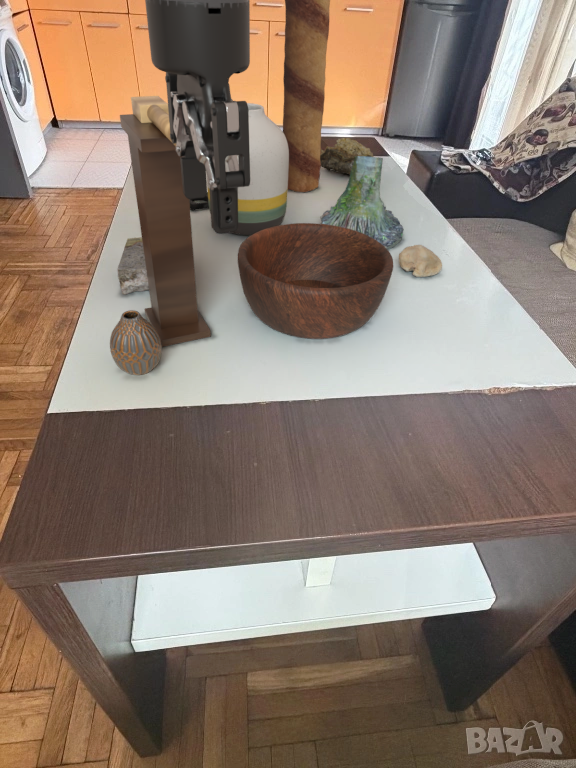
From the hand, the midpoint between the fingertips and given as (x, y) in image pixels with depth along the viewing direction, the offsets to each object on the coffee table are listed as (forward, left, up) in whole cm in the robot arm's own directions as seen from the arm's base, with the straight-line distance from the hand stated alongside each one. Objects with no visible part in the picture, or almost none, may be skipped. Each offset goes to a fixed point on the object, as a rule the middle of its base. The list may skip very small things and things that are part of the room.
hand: (209, 213), depth 48 cm
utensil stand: (-7, +24, -28) cm, 38 cm away
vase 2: (+5, +65, -28) cm, 71 cm away
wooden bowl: (+15, +30, -28) cm, 44 cm away
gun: (-11, +78, -28) cm, 84 cm away
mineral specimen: (+34, +103, -28) cm, 112 cm away
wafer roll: (+19, +92, -28) cm, 98 cm away
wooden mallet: (-6, +21, +2) cm, 22 cm away
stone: (+38, +44, -28) cm, 65 cm away
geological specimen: (-12, +41, -28) cm, 51 cm away
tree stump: (+30, +63, -28) cm, 75 cm away
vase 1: (-12, +14, -28) cm, 34 cm away
